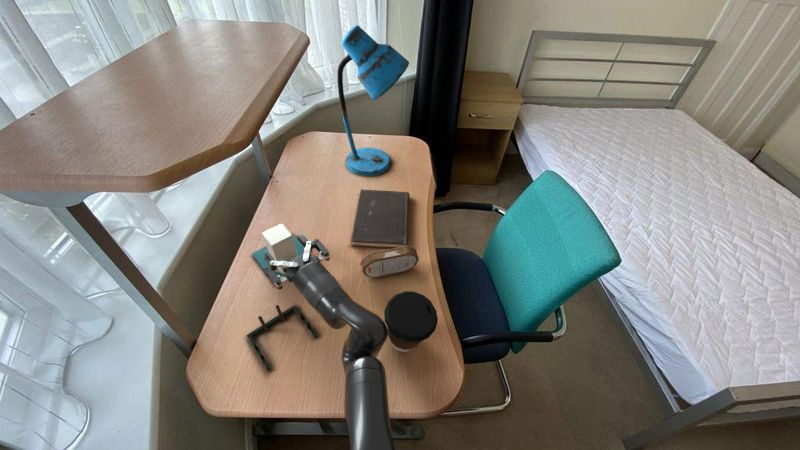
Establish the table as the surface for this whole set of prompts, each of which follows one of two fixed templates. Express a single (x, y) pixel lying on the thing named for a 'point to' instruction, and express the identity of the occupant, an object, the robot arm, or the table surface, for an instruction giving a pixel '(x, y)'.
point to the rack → (271, 322)
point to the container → (280, 243)
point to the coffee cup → (409, 320)
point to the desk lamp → (369, 90)
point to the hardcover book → (381, 219)
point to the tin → (389, 261)
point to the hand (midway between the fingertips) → (283, 244)
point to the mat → (260, 253)
